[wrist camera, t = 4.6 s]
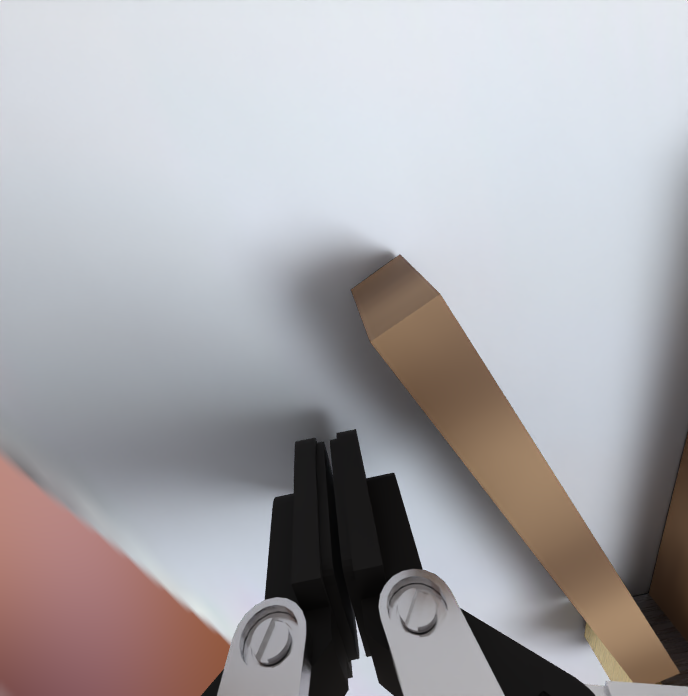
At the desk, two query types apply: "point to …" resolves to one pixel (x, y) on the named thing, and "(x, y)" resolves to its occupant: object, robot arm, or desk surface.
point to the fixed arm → (674, 556)
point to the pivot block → (666, 638)
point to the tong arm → (502, 457)
